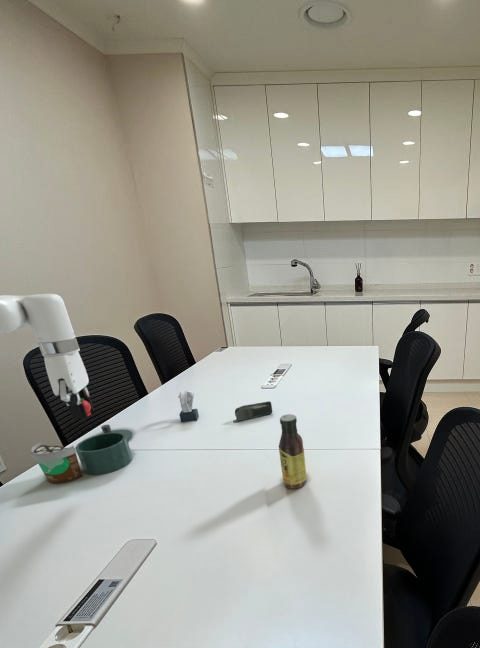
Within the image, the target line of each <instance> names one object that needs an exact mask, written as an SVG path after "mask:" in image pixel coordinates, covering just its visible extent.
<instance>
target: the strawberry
mask: <svg viewBox="0 0 480 648" xmlns="http://www.w3.org/2000/svg"><path fill="white" fill-rule="evenodd" d="M80 401H81V403H83V404H84V407H85V410H86V413H87V416H88V417H90V416H91V415H92V412H90V410H91V405H90V404H89V403H88V402H87V401H85V400H84V398H80Z"/></svg>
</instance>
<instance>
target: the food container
mask: <svg viewBox="0 0 480 648" xmlns="http://www.w3.org/2000/svg"><path fill="white" fill-rule="evenodd" d="M30 455H31V460H33V461H34V462H37V464H38V465H39V467H40V469H41V471H42V473H43V474H44V476H45V478H46V480H47V481H48V483H49V484H52V485H62V484H66V483H70V482H73V481H76V480H79V479H80V478H82V477H83V473H82V470H81V467H80V463H79V458H78V455H77V451H76V448H75V446H74V445H71V446H69V447H64V446H61V445H46V444H43V442H42V441H40V442H38V443H37V444H35V445H34V446H32V448H31V450H30Z"/></svg>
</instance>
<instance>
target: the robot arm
mask: <svg viewBox="0 0 480 648" xmlns="http://www.w3.org/2000/svg"><path fill="white" fill-rule="evenodd" d="M27 326H30V327H31V329H32V332H33V333H34V337H35V339H36V342H37V345H38V347H39V350H40V353H41V356H43V360H44V366H45V369H46V373H47V378H48V381H49V384H50V386H51V389H52V392H53V394H54V396H58V397H59V396H60V400H61V401H62V402H65V404H66V406H67V407H68V410H69V413H70V416H71V419H72V420H75V421H76V420H83V419H87V418H88V417H89V416H87V413H86V410H85V407H84V404H83V403H81V401H80V398H84V400H85V401H87V402H88V403H89V404H90V405H91V410H90V412H91V413H92V412H94V411H95V408H94V406H93V403H92V400H91V397H90V391H89V390H88V385H89V381H90V380H89V376H88V372H87V369H86V367H85V365H84V361H83V359H82V357H81V355H80V351H81V349H80V345H79V343H78V340H77V337H76V334H75V331H74V328H73V325H72V322H71V320H70V317H69V313H68V310H67V308H66V304H65V301H64V299H63V297H62V296H60V295H59V294H56V293H36V294H29V295H13V294H2V295H1V294H0V335H7V334H10V333H12V332H14V331H16V330H18V329H20V328H24V327H27Z"/></svg>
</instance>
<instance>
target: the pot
mask: <svg viewBox="0 0 480 648" xmlns="http://www.w3.org/2000/svg"><path fill="white" fill-rule="evenodd" d="M102 433H103V432H102ZM98 434H99V435H98ZM98 434H96V435H93V436H90V437H87V438H84V439H83V440H82V441H80V442H78V443H77V444H76V445H75V446H74V448H75V449H76V451H77V453H76V455H77V457H78V460H79V461H80V464H81V466H82V469H83V471H84V473H85V474H87V475H90V476H101V475H105V474H110V473H113V472H117V471H119V470H121V469H124V468H125V467H126V466H128V465H129V464H130V463H131V462H132V461H133V454H132V451H131V448H130V445H129V440H128V441H127V438H126V436H125V434H123V433H120V432H111V433H103V434H101V433H98Z"/></svg>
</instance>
